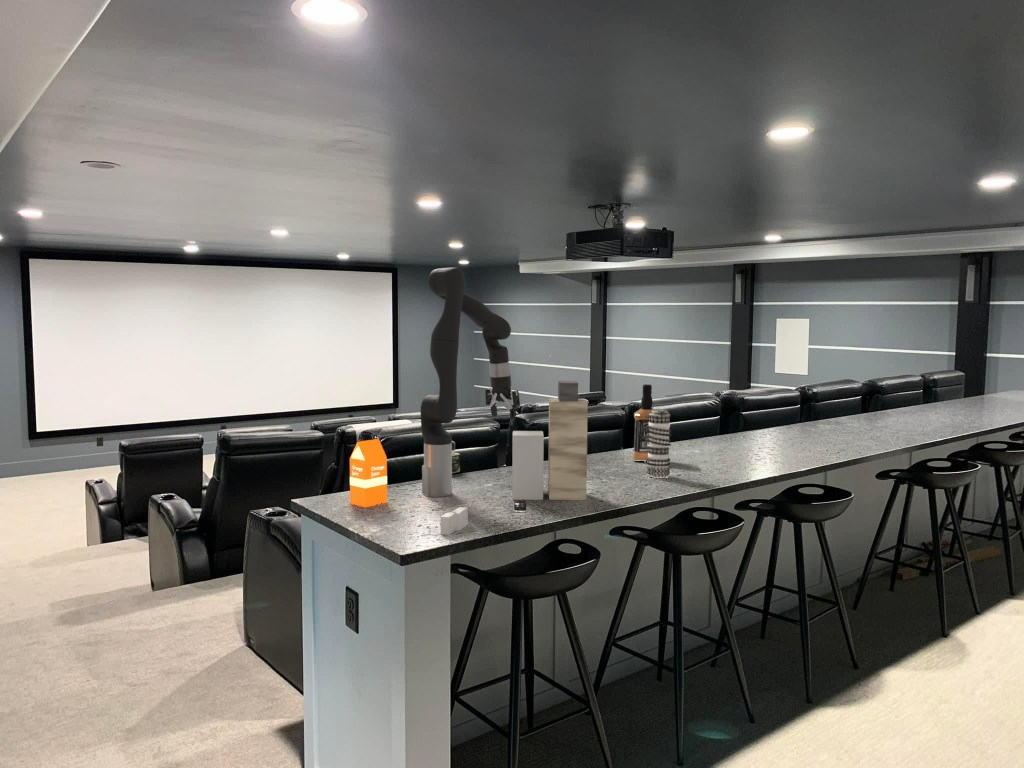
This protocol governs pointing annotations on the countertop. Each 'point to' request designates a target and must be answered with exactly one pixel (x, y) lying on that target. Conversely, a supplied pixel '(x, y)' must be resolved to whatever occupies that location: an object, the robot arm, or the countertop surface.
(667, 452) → the decorative candle
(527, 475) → the tall white pillar block
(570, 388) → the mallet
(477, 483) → the countertop surface
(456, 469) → the medicine bottle
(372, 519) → the countertop surface
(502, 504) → the countertop surface
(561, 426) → the stand
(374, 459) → the orange juice
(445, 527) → the napkin holder
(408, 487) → the countertop surface
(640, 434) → the whiskey bottle
